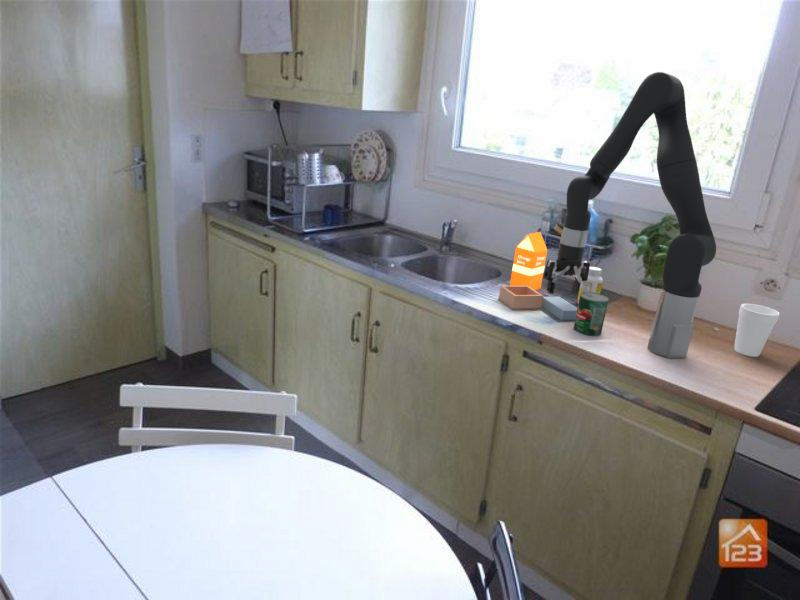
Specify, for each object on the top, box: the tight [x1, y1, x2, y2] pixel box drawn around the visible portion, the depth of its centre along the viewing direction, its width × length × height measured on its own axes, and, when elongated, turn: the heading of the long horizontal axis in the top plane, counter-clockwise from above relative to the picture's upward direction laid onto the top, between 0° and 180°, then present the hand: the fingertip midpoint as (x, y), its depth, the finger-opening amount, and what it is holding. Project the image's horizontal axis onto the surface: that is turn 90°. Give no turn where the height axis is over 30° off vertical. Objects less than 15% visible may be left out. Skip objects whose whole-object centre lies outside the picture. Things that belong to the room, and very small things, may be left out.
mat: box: [539, 306, 575, 323], centre depth 179 cm, size 16×11×1 cm
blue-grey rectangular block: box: [541, 296, 578, 320], centre depth 178 cm, size 13×6×3 cm, turn 17°
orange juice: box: [509, 231, 548, 291], centre depth 200 cm, size 8×9×20 cm
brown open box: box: [498, 285, 544, 311], centre depth 182 cm, size 10×10×5 cm
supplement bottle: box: [577, 266, 604, 304], centre depth 188 cm, size 7×7×13 cm
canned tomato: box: [573, 292, 610, 337], centre depth 164 cm, size 8×8×11 cm
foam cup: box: [733, 303, 780, 358], centre depth 159 cm, size 10×9×13 cm
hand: (562, 293), depth 177 cm, fingers open, 8 cm apart
